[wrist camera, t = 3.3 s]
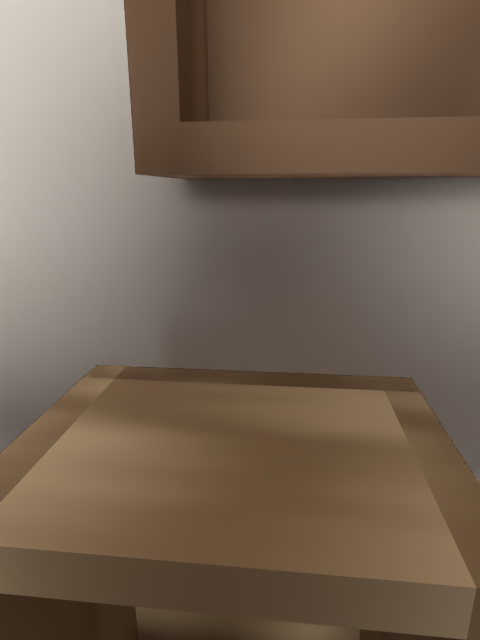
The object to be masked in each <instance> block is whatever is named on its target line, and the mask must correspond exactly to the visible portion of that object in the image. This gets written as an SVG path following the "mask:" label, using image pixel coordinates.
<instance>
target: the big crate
mask: <svg viewBox="0 0 480 640" xmlns="http://www.w3.org/2000/svg"><path fill="white" fill-rule="evenodd" d="M124 9H125V24H126V38H127V53H128V68H129V83H130V98H131V113H132V128H133V143H134V158H135V173H136V174H139V175H150V176H161V177H171V178H182V179H216V178H413V177H480V0H124Z"/></svg>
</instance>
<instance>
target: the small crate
mask: <svg viewBox="0 0 480 640" xmlns="http://www.w3.org/2000/svg"><path fill="white" fill-rule="evenodd" d="M0 640H480V484H479V482H478V481H477V479H476V478H475V476H474V475H473V473H472V472H471V470H470V468H469V467H468V465H467V464H466V462H465V461H464V459H463V457H462V456H461V454H460V453H459V451H458V450H457V448H456V447H455V445H454V443H453V442H452V440H451V439H450V437H449V436H448V434H447V433H446V431H445V429H444V428H443V426H442V425H441V423H440V422H439V420H438V419H437V417H436V415H435V414H434V412H433V411H432V409H431V408H430V406H429V405H428V403H427V401H426V400H425V398H424V397H423V395H422V394H421V392H420V391H419V389H418V387H417V386H416V384H415V383H414V381H413V380H412V378H403V377H378V376H353V375H328V374H303V373H279V372H254V371H229V370H204V369H179V368H155V367H130V366H105V365H96V366H95V367H94V368H93V369H92V370H91V371H90V372H89V373H87V374H86V375H85V376H84V377H83V378H82V379H81V380H80V381H79V382H78V383H76V384H75V385H74V386H73V387H72V388H71V389H70V390H69V391H68V392H67V393H66V394H64V395H63V396H62V397H61V398H60V399H59V400H58V401H57V402H56V403H55V404H53V405H52V406H51V407H50V408H49V409H48V410H47V411H46V412H45V413H44V414H42V415H41V416H40V417H39V418H38V419H37V420H36V421H35V422H34V423H33V424H32V425H30V426H29V427H28V428H27V429H26V430H25V431H24V432H23V433H22V434H21V435H19V436H18V437H17V438H16V439H15V440H14V441H13V442H12V443H11V444H10V445H9V446H7V447H6V448H5V449H4V450H3V451H2V452H1V453H0Z"/></svg>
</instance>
